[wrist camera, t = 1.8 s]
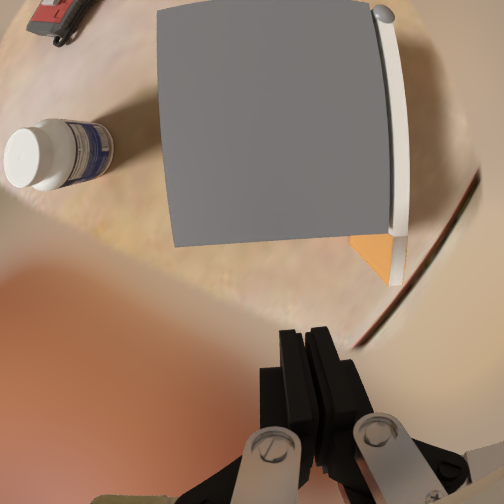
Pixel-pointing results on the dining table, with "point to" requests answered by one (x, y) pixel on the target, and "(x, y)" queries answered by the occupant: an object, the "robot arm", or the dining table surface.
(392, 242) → the side door
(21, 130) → the pill bottle
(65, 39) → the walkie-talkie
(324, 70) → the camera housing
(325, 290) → the dining table surface
